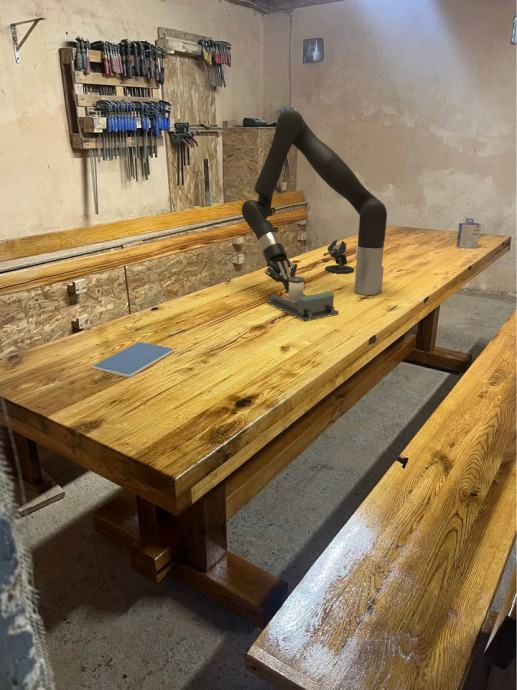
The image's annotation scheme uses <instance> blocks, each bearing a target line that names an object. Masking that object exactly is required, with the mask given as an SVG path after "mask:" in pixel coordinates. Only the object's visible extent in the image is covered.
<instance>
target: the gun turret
mask: <svg viewBox="0 0 517 690" xmlns="http://www.w3.org/2000/svg"><path fill="white" fill-rule="evenodd" d="M337 242H338V239H335V240H334V241H332V243H331V244H329V245H328V246H327V252H325V253H323V255H322V256H324V257H326V256H328V255H330V257H331V258H334V261H335V265H334V264H330V265H327V266H325V267H324V271H325V270H326V271H325V272H327V271H328V272H327V273H329V272H332V273H331V274H334V273H336V274H335V275H348V274H353V273H354V272H355V268H354V267H352V266H350V265H347V264H348V259H347V255H346V254H345V253H346V250H347V244H348V243H347V242H344V240H341V242H340V243H338V244H337Z"/></svg>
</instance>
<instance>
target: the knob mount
mask: <svg viewBox="0 0 517 690" xmlns="http://www.w3.org/2000/svg"><path fill="white" fill-rule="evenodd" d="M288 297H289V296H286V297H281V296H278V295H276V294H271V295H270V299H269V300H266V303H268V304H267V305H269V304H270V305H269V306H271V305H273V306H275V307H277V308H279V309H282V310H283V311H286V312H288V313H290V314H292V315H294V316H296V317H298V318H300V319H302V320H309V319H313V320H315V319H314V318H318V317H323V316H328V315H333V316H335V315H334V314H337V315H339V313H340V312H339V311H338V310H336V309H335V306H334V301H335V299H334V298H335V294H334V293H332V292H329V291H326V292H319V293H315V294H309V295H306V294H304V293H303V296H302V297H298V305H297V304H294V303H292V302H290V301H288V300H285V299H283V298H288ZM273 306H272V307H273ZM275 307H274V308H275ZM277 308H276V309H277ZM279 309H278V310H279ZM283 311H282V312H283ZM294 316H293V317H294ZM296 317H295V318H296ZM328 317H329V316H328ZM298 318H297V319H298ZM323 318H324V317H323ZM300 319H299V320H300ZM318 319H319V318H318ZM302 320H301V321H302ZM309 321H310V320H309Z"/></svg>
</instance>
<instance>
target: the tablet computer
mask: <svg viewBox="0 0 517 690" xmlns="http://www.w3.org/2000/svg"><path fill="white" fill-rule="evenodd" d="M173 353H175V349H174V348H171V347H168V346H167V347H166V346H161V345H157V344H152V343H147V342H142V341H137V342H136V343H134V344H132V345H130V346H128V347H126V348H125V349H122V350H120V351H119V352H117V353H115V354H113V355H110V356H109V357H107V358H105V359H103V360H101V361H99V362H98V363H96V364H94V365H92V367H91V368H92V370H95V371H99V372H104V373H107V374H111V375H115V376H118V377H119V376H120V377H123V378H126V379H130V378H133V377H134V376H137V374H140V373H141V372H142V371H144V370H146V369H148V368H149V367H151V366H153V365H154V364H156V363H158V362H159V361H161V360H163V359H164V358H166V357H168V356H169V355H172V354H173Z"/></svg>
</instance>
